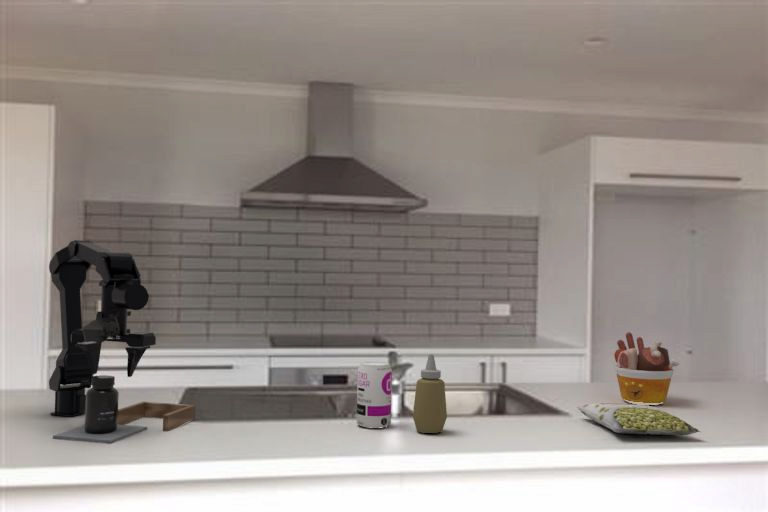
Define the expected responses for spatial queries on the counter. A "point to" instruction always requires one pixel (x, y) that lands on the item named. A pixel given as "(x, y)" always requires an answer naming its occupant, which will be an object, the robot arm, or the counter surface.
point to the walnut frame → (158, 413)
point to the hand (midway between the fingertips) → (112, 375)
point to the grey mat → (111, 437)
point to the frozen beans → (636, 419)
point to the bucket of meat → (643, 371)
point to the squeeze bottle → (430, 400)
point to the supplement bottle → (101, 406)
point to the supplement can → (374, 394)
